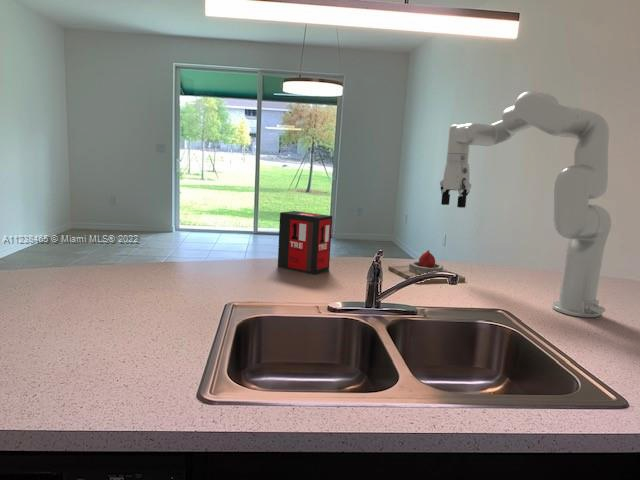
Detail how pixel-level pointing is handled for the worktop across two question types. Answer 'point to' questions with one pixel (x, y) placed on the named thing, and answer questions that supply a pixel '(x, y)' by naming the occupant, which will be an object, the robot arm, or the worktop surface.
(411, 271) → the cradle
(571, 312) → the robot arm
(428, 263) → the onion
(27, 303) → the worktop surface
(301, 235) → the cleaning product box
